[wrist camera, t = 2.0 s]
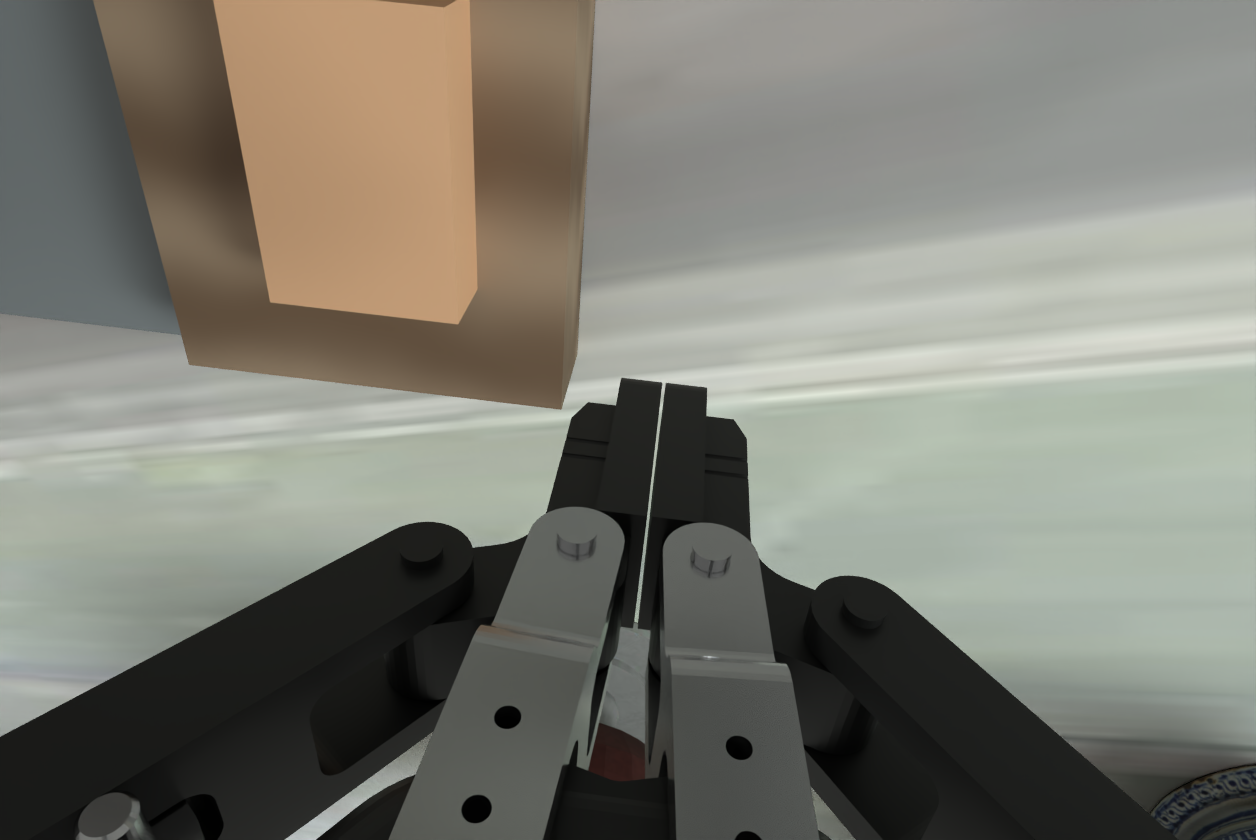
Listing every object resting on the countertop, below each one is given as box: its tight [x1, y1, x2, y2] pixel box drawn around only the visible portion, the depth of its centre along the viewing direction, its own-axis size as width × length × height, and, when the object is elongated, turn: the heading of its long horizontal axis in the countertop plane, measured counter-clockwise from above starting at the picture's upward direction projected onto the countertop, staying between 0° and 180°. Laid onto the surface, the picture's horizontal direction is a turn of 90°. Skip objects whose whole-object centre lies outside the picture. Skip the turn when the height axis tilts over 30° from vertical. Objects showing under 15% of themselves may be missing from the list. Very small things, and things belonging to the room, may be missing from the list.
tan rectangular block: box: [213, 0, 478, 324], centre depth 24 cm, size 9×6×2 cm, turn 175°
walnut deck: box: [93, 0, 595, 409], centre depth 27 cm, size 18×14×4 cm
